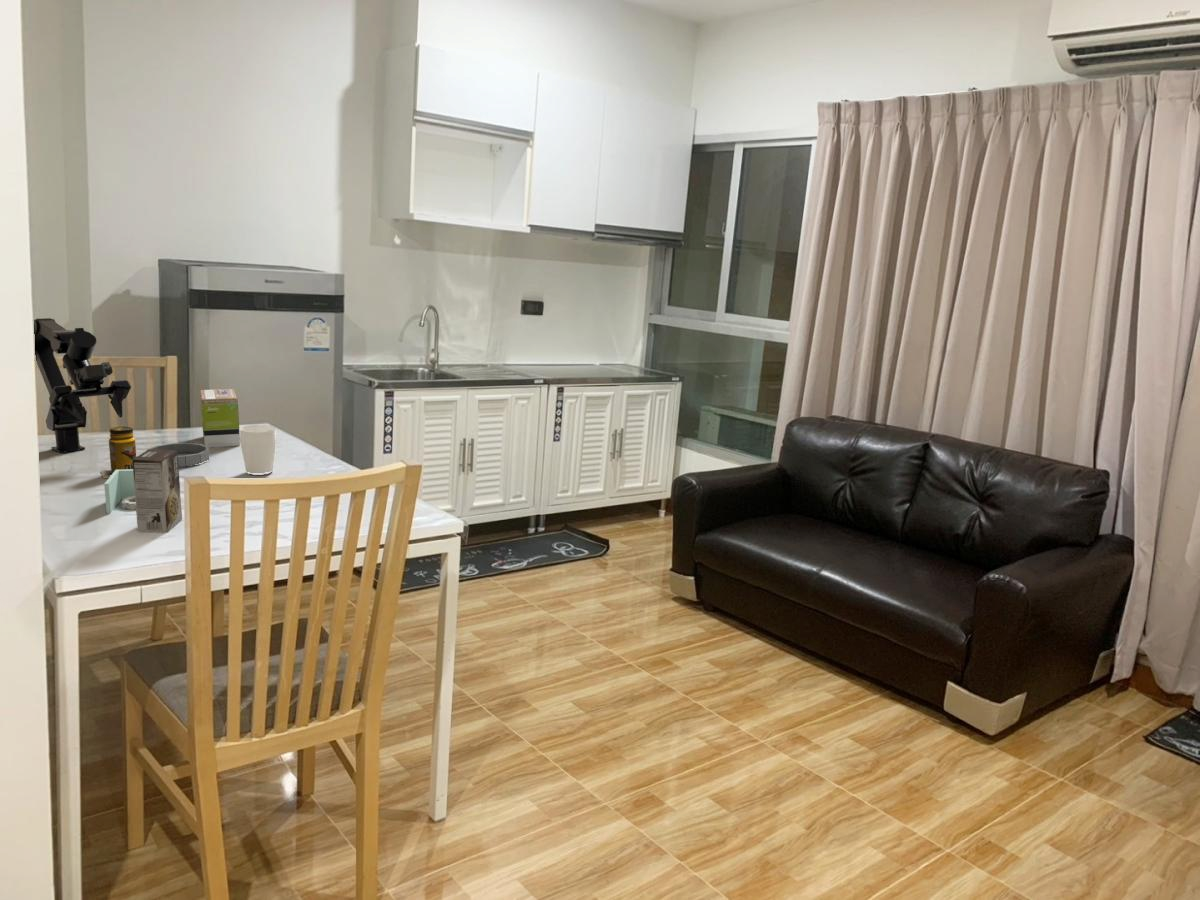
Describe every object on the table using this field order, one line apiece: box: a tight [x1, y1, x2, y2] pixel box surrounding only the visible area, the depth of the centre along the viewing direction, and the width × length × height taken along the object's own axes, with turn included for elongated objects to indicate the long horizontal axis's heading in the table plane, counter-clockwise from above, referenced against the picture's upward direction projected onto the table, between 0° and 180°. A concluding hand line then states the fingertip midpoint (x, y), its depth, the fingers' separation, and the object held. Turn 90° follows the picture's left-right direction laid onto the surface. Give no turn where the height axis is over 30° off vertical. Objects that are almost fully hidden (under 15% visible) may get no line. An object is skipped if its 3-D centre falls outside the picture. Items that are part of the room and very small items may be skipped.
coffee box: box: [132, 448, 183, 534], centre depth 197 cm, size 9×6×16 cm
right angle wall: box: [103, 469, 136, 515], centre depth 212 cm, size 12×12×8 cm
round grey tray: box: [146, 442, 210, 468], centre depth 251 cm, size 16×16×3 cm
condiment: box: [100, 426, 137, 479], centre depth 235 cm, size 7×8×12 cm
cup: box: [239, 424, 277, 473], centre depth 242 cm, size 9×9×12 cm
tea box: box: [199, 388, 241, 448], centre depth 273 cm, size 15×10×15 cm
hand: (103, 418), depth 238 cm, fingers open, 9 cm apart
